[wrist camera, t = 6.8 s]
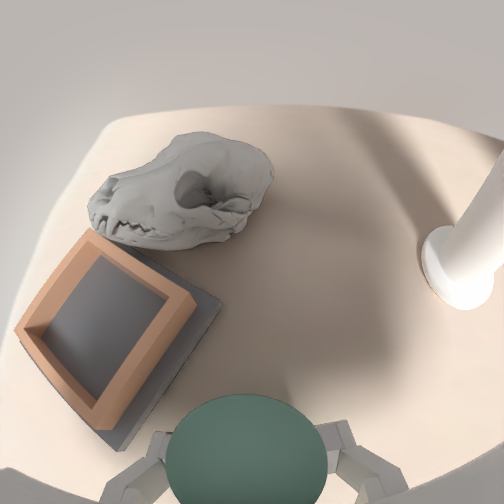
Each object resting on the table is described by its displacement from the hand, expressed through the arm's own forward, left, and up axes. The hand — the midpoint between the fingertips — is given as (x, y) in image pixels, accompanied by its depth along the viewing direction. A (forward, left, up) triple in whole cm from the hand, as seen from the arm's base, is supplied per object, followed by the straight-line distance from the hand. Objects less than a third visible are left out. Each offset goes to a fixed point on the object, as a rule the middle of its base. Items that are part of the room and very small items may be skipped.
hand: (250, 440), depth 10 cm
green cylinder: (0, +1, -4) cm, 4 cm away
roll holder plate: (+12, 0, -4) cm, 12 cm away
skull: (+12, -11, -5) cm, 16 cm away
